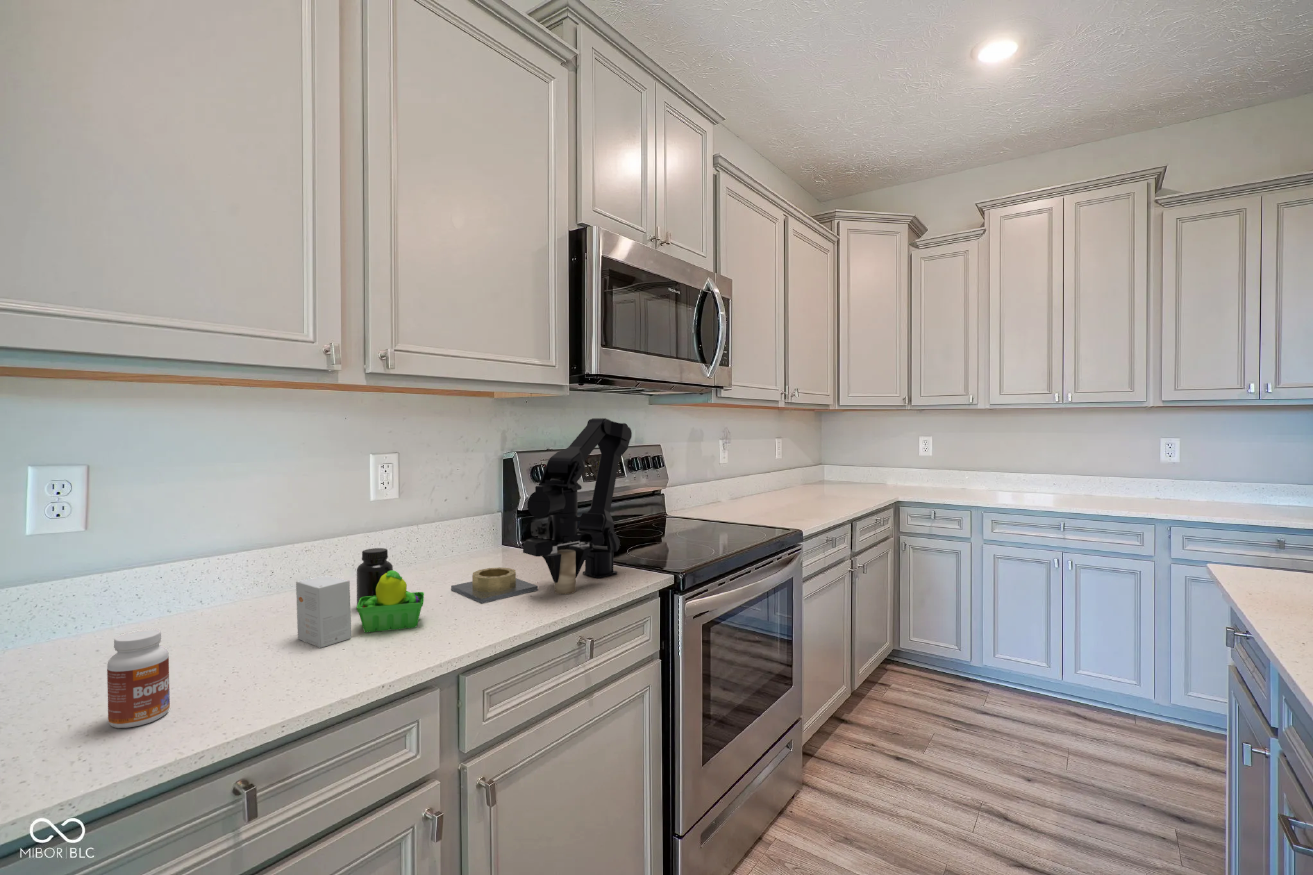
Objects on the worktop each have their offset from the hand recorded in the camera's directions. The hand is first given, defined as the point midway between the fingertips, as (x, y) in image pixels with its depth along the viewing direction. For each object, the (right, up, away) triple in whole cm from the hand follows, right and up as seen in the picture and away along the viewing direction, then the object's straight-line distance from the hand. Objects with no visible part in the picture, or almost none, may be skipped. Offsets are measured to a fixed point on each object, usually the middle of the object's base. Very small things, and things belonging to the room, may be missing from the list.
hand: (565, 580), depth 137 cm
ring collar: (-16, -3, +1) cm, 16 cm away
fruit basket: (-29, -4, -23) cm, 37 cm away
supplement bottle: (-38, -3, -12) cm, 39 cm away
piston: (0, -3, 0) cm, 2 cm away
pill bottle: (-47, -5, -57) cm, 74 cm away
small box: (-38, -4, -29) cm, 48 cm away
